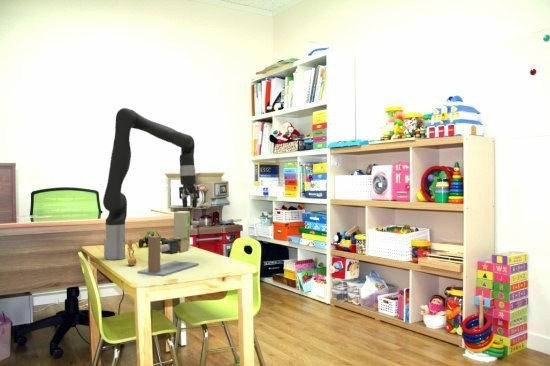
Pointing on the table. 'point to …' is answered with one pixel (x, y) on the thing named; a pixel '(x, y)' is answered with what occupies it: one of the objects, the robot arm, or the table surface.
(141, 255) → the table surface
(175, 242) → the dark grey slab
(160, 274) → the pipe rig
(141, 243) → the motor vehicle
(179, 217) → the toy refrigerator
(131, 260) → the figurine
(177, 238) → the sleeve
